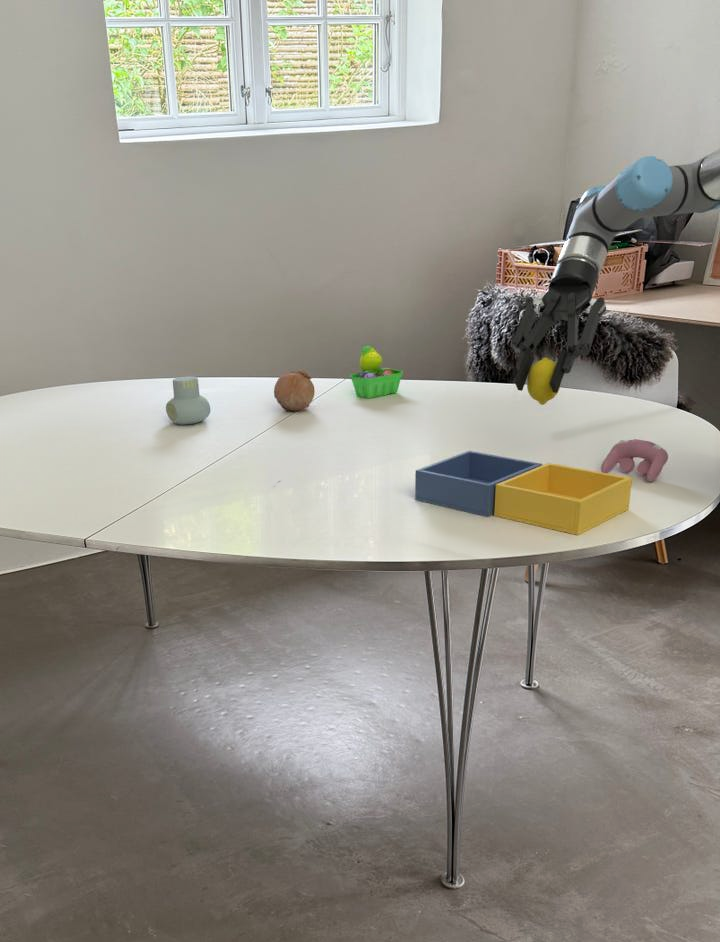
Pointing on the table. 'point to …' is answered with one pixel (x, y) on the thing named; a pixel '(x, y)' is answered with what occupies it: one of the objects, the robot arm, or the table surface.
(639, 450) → the video game controller
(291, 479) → the table surface
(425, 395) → the table surface
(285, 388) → the onion
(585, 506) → the yellow bin
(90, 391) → the table surface
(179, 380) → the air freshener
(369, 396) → the fruit basket
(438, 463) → the blue bin
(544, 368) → the lemon
